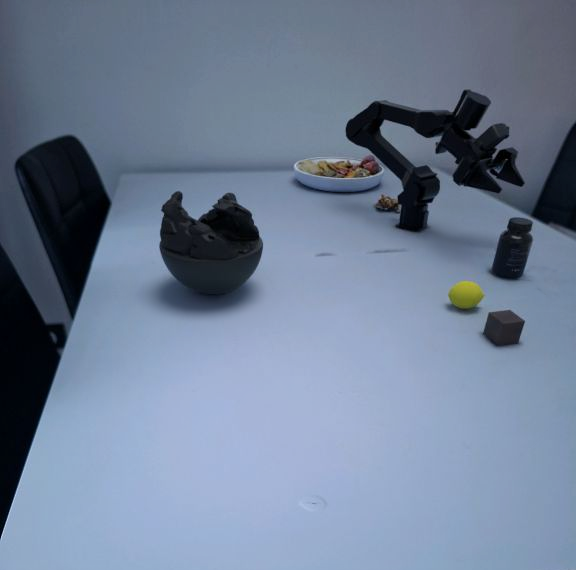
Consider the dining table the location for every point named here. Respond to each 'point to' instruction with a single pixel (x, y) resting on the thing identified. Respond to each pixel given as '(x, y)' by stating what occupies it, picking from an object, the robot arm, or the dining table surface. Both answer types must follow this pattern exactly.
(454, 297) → the lemon
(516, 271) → the supplement bottle
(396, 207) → the brown mottled lump
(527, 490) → the dining table surface
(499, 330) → the walnut block
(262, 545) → the dining table surface
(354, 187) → the bowl
